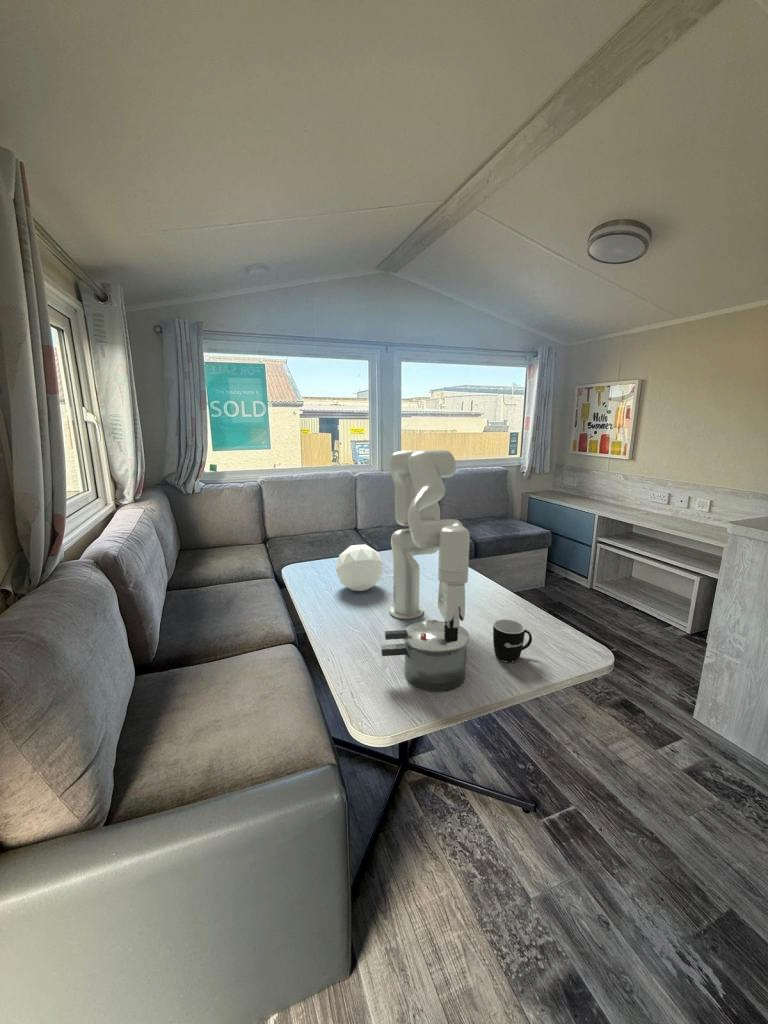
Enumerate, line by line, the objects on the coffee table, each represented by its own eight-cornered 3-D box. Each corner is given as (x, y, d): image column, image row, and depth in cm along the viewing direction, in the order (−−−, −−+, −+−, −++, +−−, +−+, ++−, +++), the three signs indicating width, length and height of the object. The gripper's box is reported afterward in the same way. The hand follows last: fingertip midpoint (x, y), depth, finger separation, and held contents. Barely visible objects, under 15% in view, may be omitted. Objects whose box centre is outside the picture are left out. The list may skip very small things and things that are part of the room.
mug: (499, 666, 122) (501, 634, 120) (486, 650, 131) (488, 620, 128) (537, 662, 124) (540, 631, 122) (523, 647, 133) (525, 617, 130)
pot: (378, 659, 126) (378, 628, 123) (456, 655, 128) (457, 624, 126) (384, 696, 109) (384, 661, 107) (473, 690, 112) (475, 655, 109)
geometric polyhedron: (355, 608, 175) (331, 580, 163) (346, 576, 191) (324, 548, 179) (395, 586, 174) (374, 556, 162) (383, 556, 190) (363, 526, 178)
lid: (381, 626, 125) (381, 618, 124) (457, 622, 127) (457, 614, 127) (389, 655, 106) (388, 646, 106) (477, 650, 109) (478, 641, 108)
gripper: (432, 565, 115) (430, 627, 119) (446, 586, 101) (443, 655, 104) (459, 564, 116) (456, 625, 120) (476, 584, 101) (473, 654, 105)
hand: (450, 639), depth 112 cm, fingers closed
